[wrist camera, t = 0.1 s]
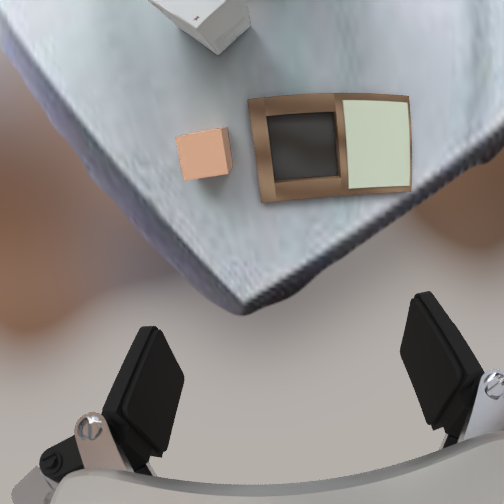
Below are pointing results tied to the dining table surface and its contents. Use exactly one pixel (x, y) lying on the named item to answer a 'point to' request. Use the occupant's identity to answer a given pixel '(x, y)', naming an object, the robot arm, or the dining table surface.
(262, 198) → the hole board
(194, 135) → the terracotta cube
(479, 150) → the dining table surface
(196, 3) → the small box
